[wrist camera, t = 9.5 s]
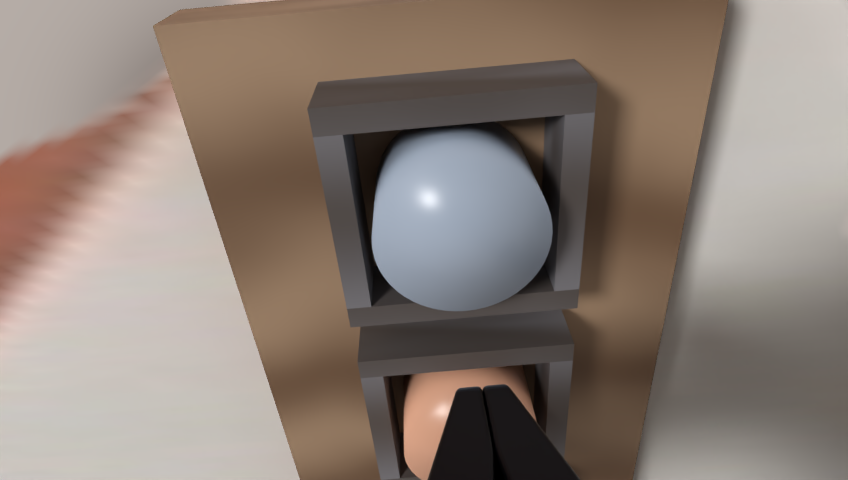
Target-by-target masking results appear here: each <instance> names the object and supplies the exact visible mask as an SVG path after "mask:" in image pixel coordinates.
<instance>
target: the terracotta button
mask: <svg viewBox="0 0 848 480" xmlns="http://www.w3.org/2000/svg"><path fill="white" fill-rule="evenodd" d="M499 384H506V385H508V386H509V387H510V388H511V389H512V391H513V392H514V393H515V395H516V396H517V397H518V399H519V400H520V401H521V402H522V404H523V405H524V406H525V408H526V409H527V410H528V412H529V413H530V414H531V416H532V417H533V418H534V419H535V421H536V417H535V413H534V409H533V405H532V401H531V397H530V393H529V389H528V386H527V382H526V378H525V374H524V370H523V366H522V365H514V366H503V367H491V368H479V369H467V370H455V371H443V372H431V373H419V374H407V375H404V379H403V396H404V457H405V461H406V463H407V465H408V467H409V468H410V470H411V471H412V472H413V473H414V474H415V475H416V476H417V477H418V478H420V479H421V480H427V479H428V476H429V473H430V470H431V467H432V464H433V461H434V458H435V455H436V452H437V448H438V445H439V442H440V439H441V436H442V433H443V430H444V427H445V424H446V420H447V417H448V414H449V411H450V408H451V405H452V402H453V399H454V396H455V393H456V391H457V389H459V388H464V387H476V386H478V387H480V388H481V389H482V390H483V388H484V387H485V386H488V385H499ZM536 422H537V421H536Z"/></svg>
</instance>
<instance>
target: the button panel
mask: <svg viewBox="0 0 848 480" xmlns="http://www.w3.org/2000/svg"><path fill="white" fill-rule="evenodd" d="M727 5H728V0H281V1H270V2H259V3H248V4H237V5H226V6H215V7H204V8H194V9H184V10H179V11H177V12H175V13H174V14H172V15H170V16H169V17H167V18H165V19H164V20H162V21H160V22H159V23H157V24H155V25H154V26H153V28H154V31H155V34H156V37H157V40H158V43H159V46H160V50H161V53H162V56H163V59H164V62H165V65H166V68H167V71H168V74H169V77H170V80H171V83H172V87H173V90H174V93H175V96H176V99H177V102H178V105H179V108H180V111H181V114H182V117H183V120H184V123H185V127H186V130H187V133H188V136H189V139H190V142H191V145H192V148H193V151H194V154H195V157H196V160H197V163H198V167H199V170H200V173H201V176H202V179H203V182H204V185H205V188H206V191H207V194H208V197H209V200H210V204H211V207H212V210H213V213H214V216H215V219H216V222H217V225H218V228H219V231H220V234H221V237H222V240H223V244H224V247H225V250H226V253H227V256H228V259H229V262H230V265H231V268H232V271H233V274H234V277H235V280H236V284H237V287H238V290H239V293H240V296H241V299H242V302H243V305H244V308H245V311H246V314H247V317H248V320H249V324H250V327H251V330H252V333H253V336H254V339H255V342H256V345H257V348H258V351H259V354H260V357H261V360H262V364H263V367H264V370H265V373H266V376H267V379H268V382H269V385H270V388H271V391H272V394H273V397H274V400H275V404H276V407H277V410H278V413H279V416H280V419H281V422H282V425H283V428H284V431H285V434H286V437H287V440H288V444H289V447H290V450H291V453H292V456H293V459H294V462H295V465H296V468H297V471H298V474H299V477H300V480H421V479H420V478H418V477H417V476H416V475H415V474H414V473H413V472H412V471H411V470H410V468H409V467H408V465H407V463H406V461H405V457H404V396H403V379H404V375H407V374H419V373H431V372H443V371H455V370H467V369H479V368H491V367H503V366H514V365H522V366H523V370H524V374H525V378H526V382H527V386H528V389H529V393H530V397H531V401H532V405H533V409H534V413H535V417H536V421H537V423H538V425H539V426H540V427H541V429H542V430H543V431H544V433H545V434H546V435H547V436H548V438H549V439H550V440H551V442H552V443H553V444H554V446H555V447H556V448H557V449H558V451H559V452H560V453H561V455H562V456H563V457H564V459H565V460H566V461H567V463H568V464H569V465H570V466H571V468H572V469H573V470H574V472H575V473H576V474H577V476H578V477H579V478H580V480H632V479H633V474H634V469H635V464H636V459H637V454H638V449H639V444H640V440H641V435H642V430H643V425H644V420H645V415H646V410H647V405H648V400H649V395H650V390H651V385H652V380H653V375H654V370H655V365H656V360H657V355H658V350H659V345H660V340H661V335H662V330H663V325H664V320H665V315H666V310H667V305H668V300H669V295H670V290H671V285H672V280H673V275H674V270H675V265H676V260H677V255H678V250H679V245H680V240H681V235H682V230H683V225H684V220H685V215H686V210H687V205H688V200H689V195H690V190H691V185H692V180H693V175H694V170H695V165H696V160H697V155H698V150H699V145H700V140H701V135H702V130H703V125H704V120H705V115H706V110H707V105H708V100H709V95H710V90H711V85H712V80H713V75H714V70H715V65H716V60H717V55H718V50H719V45H720V40H721V35H722V30H723V25H724V20H725V15H726V10H727ZM493 121H495V122H497V123H499V124H500V125H501V126H503V127H504V128H505V129H507V130H508V131H509V132H510V133H511V134H512V135H513V136H514V138H515V139H516V140H517V142H518V143H519V145H520V147H521V148H522V150H523V152H524V154H525V157H526V159H527V161H528V163H529V165H530V168H531V170H532V172H533V174H534V176H535V179H536V181H537V183H538V185H539V187H540V190H541V192H542V194H543V196H544V198H545V201H546V203H547V205H548V208H549V211H550V214H551V219H552V230H553V234H552V242H551V246H550V250H549V253H548V256H547V258H546V260H545V262H544V264H543V266H542V267H541V269H540V270H539V272H538V273H537V274H536V276H535V277H534V278H533V279H532V280H531V281H530V282H529V283H528V284H527V285H526V286H525V287H524V288H522V289H521V290H520V291H519V292H517V293H516V294H514V295H513V296H511V297H509V298H508V299H506V300H503V301H501V302H499V303H497V304H494V305H491V306H488V307H485V308H481V309H476V310H469V311H444V310H438V309H433V308H429V307H426V306H423V305H420V304H418V303H415V302H413V301H411V300H410V299H408V298H406V297H404V296H403V295H402V294H400V293H399V292H397V291H396V290H395V289H394V288H393V287H392V286H391V285H390V284H389V283H388V282H387V280H386V279H385V278H384V277H383V275H382V273H381V272H380V270H379V268H378V266H377V264H376V261H375V259H374V254H373V250H372V227H373V213H374V200H375V187H376V174H377V170H378V165H379V162H380V160H381V157H382V155H383V153H384V151H385V150H386V148H387V146H388V145H389V144H390V142H391V141H392V140H393V139H394V138H395V137H396V136H397V135H398V134H399V133H400V132H401V131H402V130H403V129H414V128H426V127H437V126H448V125H460V124H471V123H482V122H493Z"/></svg>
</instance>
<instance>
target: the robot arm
mask: <svg viewBox="0 0 848 480" xmlns="http://www.w3.org/2000/svg"><path fill="white" fill-rule="evenodd" d="M427 480H580V478H579V477H578V476H577V474H576V473H575V472H574V470H573V469H572V468H571V466H570V465H569V464H568V463H567V461H566V460H565V459H564V457H563V456H562V455H561V453H560V452H559V451H558V449H557V448H556V447H555V446H554V444H553V443H552V442H551V440H550V439H549V438H548V436H547V435H546V434H545V433H544V431H543V430H542V429H541V427H540V426H539V425H538V423H537V422H536V421H535V419H534V418H533V417H532V416H531V414H530V413H529V412H528V410H527V409H526V408H525V406H524V405H523V404H522V402H521V401H520V400H519V399H518V397H517V396H516V395H515V393H514V392H513V391H512V389H511V388H510V387H509V386H508V385H506V384H499V385H488V386H485V387H484V388H483V390H482V389H481V388H480V387H478V386H476V387H464V388H459V389H457V391H456V393H455V396H454V399H453V402H452V405H451V408H450V411H449V414H448V417H447V420H446V424H445V427H444V430H443V433H442V436H441V439H440V442H439V445H438V448H437V452H436V455H435V458H434V461H433V464H432V467H431V470H430V473H429V476H428V479H427Z"/></svg>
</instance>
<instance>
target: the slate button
mask: <svg viewBox="0 0 848 480" xmlns="http://www.w3.org/2000/svg"><path fill="white" fill-rule="evenodd" d="M552 234H553V230H552V219H551V214H550V211H549V208H548V205H547V203H546V201H545V198H544V196H543V194H542V192H541V190H540V187H539V185H538V183H537V181H536V179H535V176H534V174H533V172H532V170H531V168H530V165H529V163H528V161H527V159H526V157H525V154H524V152H523V150H522V148H521V147H520V145H519V143H518V142H517V140H516V139H515V138H514V136H513V135H512V134H511V133H510V132H509V131H508V130H507V129H505V128H504V127H503V126H501V125H500V124H499V123H497V122H495V121H493V122H482V123H471V124H460V125H448V126H437V127H426V128H414V129H403V130H402V131H401V132H400V133H399V134H398V135H397V136H396V137H395V138H394V139H393V140H392V141H391V142H390V144H389V145H388V146H387V148H386V150H385V151H384V153H383V155H382V157H381V160H380V162H379V165H378V170H377V174H376V187H375V200H374V213H373V227H372V250H373V254H374V259H375V261H376V264H377V266H378V268H379V270H380V272H381V273H382V275H383V277H384V278H385V279H386V280H387V282H388V283H389V284H390V285H391V286H392V287H393V288H394V289H395V290H396V291H397V292H399V293H400V294H402V295H403V296H404V297H406V298H408V299H410V300H411V301H413V302H415V303H418V304H420V305H423V306H426V307H429V308H433V309H438V310H444V311H469V310H476V309H481V308H485V307H488V306H491V305H494V304H497V303H499V302H501V301H503V300H506V299H508V298H509V297H511V296H513V295H514V294H516V293H517V292H519V291H520V290H521V289H522V288H524V287H525V286H526V285H527V284H528V283H529V282H530V281H531V280H532V279H533V278H534V277H535V276H536V274H537V273H538V272H539V270H540V269H541V267H542V266H543V264H544V262H545V260H546V258H547V256H548V253H549V250H550V246H551V242H552Z"/></svg>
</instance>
